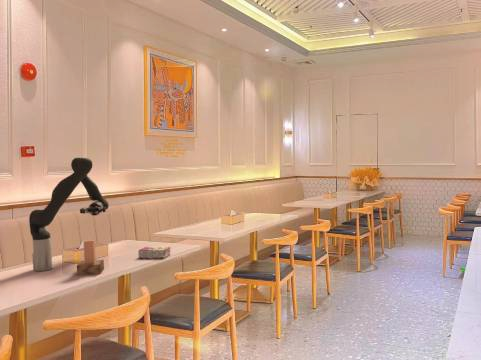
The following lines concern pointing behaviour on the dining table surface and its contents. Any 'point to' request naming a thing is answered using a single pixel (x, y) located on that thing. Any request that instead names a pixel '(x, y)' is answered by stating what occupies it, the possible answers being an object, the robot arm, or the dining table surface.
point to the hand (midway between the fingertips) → (91, 211)
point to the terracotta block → (89, 251)
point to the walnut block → (90, 268)
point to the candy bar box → (154, 252)
